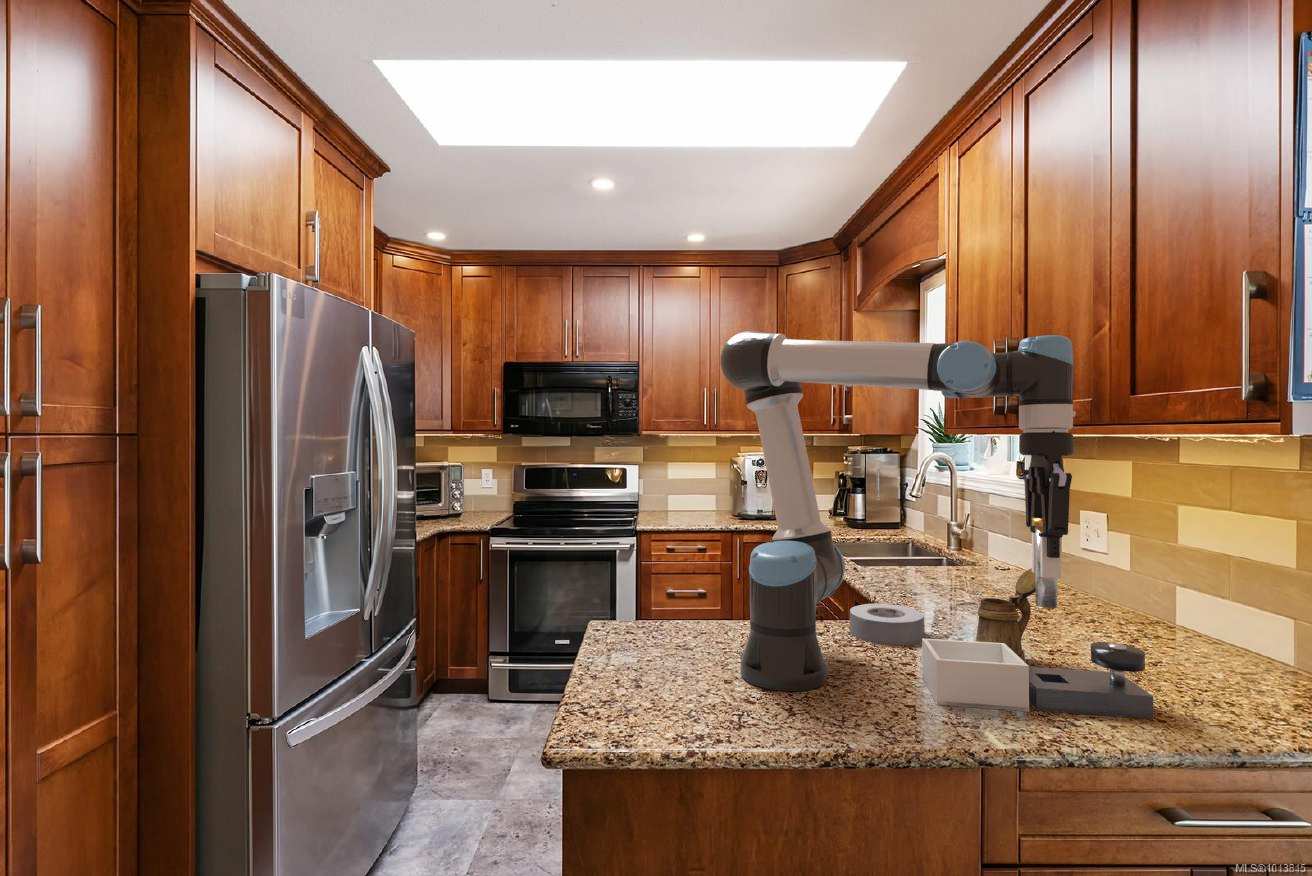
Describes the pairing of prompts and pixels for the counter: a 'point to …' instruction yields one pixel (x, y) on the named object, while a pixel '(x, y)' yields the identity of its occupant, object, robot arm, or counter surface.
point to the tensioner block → (1094, 685)
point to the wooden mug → (1007, 616)
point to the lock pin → (1044, 586)
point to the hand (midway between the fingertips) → (1046, 574)
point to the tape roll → (887, 624)
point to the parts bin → (975, 674)
